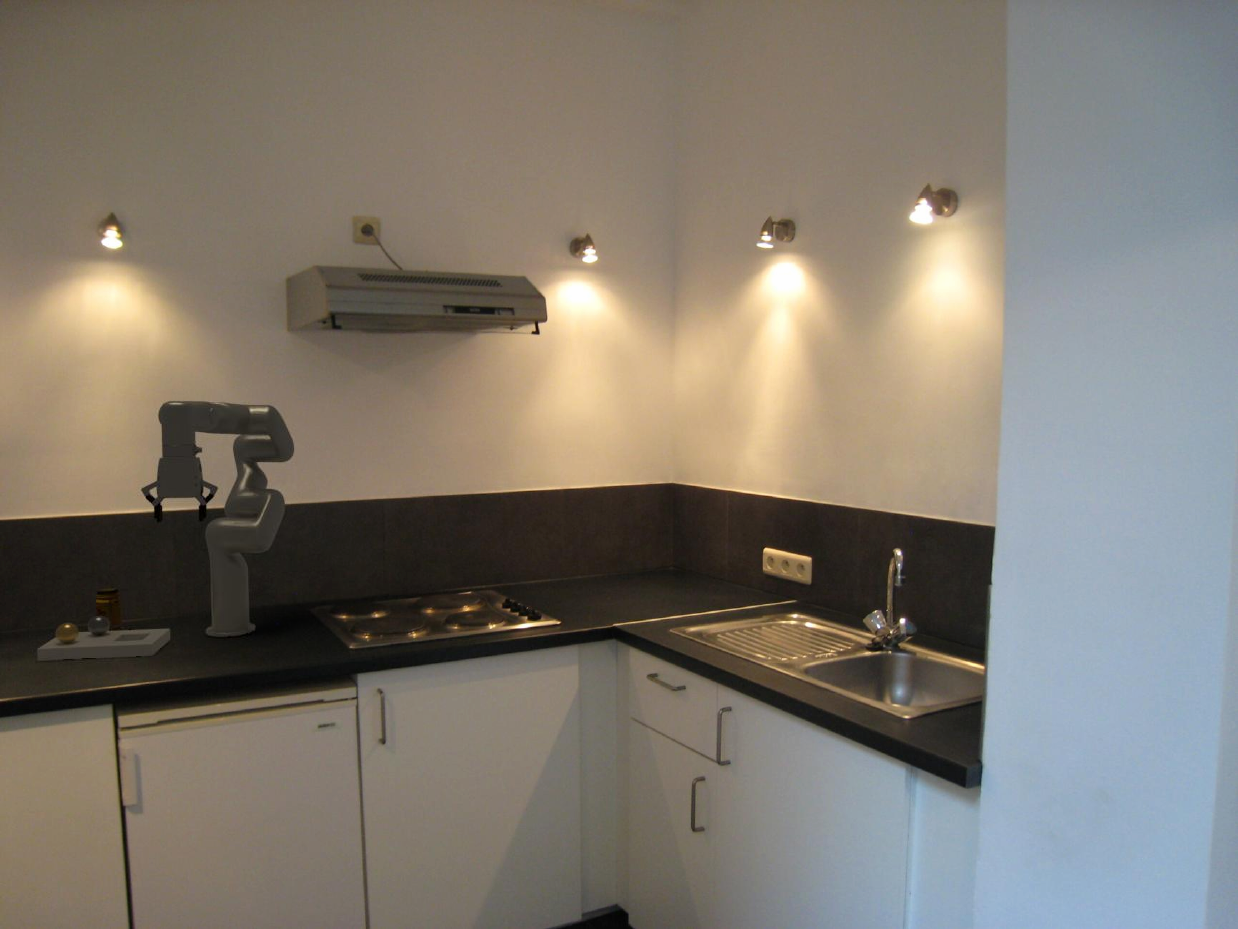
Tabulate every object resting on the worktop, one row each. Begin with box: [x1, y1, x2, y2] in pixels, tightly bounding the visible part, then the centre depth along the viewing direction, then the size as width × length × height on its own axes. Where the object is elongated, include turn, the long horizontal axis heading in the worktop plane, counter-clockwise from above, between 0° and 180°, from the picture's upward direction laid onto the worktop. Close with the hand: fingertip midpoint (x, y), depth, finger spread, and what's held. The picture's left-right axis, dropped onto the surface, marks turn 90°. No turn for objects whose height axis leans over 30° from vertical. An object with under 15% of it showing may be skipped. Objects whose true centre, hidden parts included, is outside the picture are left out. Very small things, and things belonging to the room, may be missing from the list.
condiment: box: [95, 587, 123, 631], centre depth 257 cm, size 7×8×12 cm
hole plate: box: [36, 628, 171, 662], centre depth 239 cm, size 16×26×3 cm, turn 101°
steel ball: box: [87, 615, 110, 635], centre depth 242 cm, size 5×5×5 cm
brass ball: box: [55, 622, 80, 643], centre depth 234 cm, size 5×5×5 cm
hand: (180, 521), depth 232 cm, fingers open, 9 cm apart
